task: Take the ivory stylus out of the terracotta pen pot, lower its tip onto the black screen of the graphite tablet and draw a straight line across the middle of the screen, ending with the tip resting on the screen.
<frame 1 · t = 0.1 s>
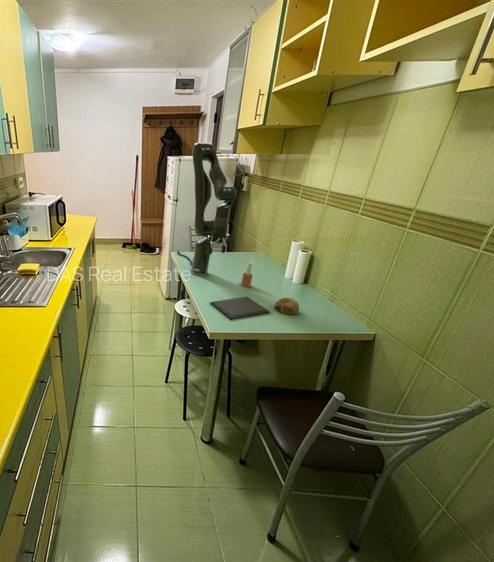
hand: (216, 253, 169), 17 cm above the table, tool pointing down, fingers open, 8 cm apart
bread roll: (285, 310, 146), on the table
stylus: (245, 285, 171), resting on pen pot
tablet: (238, 308, 147), on the table
pen pot: (245, 286, 171), on the table
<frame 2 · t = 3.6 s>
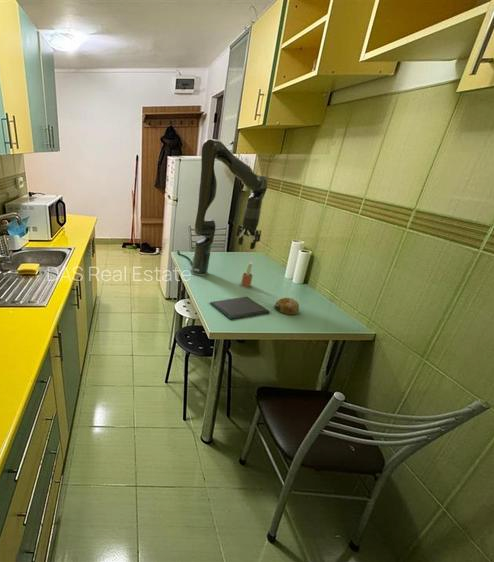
hand: (245, 246, 163), 23 cm above the table, tool pointing down, fingers open, 8 cm apart
nothing on the table moved.
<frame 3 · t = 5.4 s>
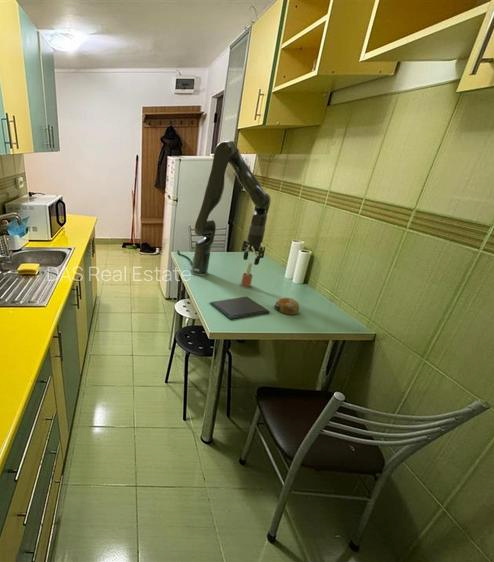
hand: (250, 262, 165), 15 cm above the table, tool pointing down, fingers open, 8 cm apart
nothing on the table moved.
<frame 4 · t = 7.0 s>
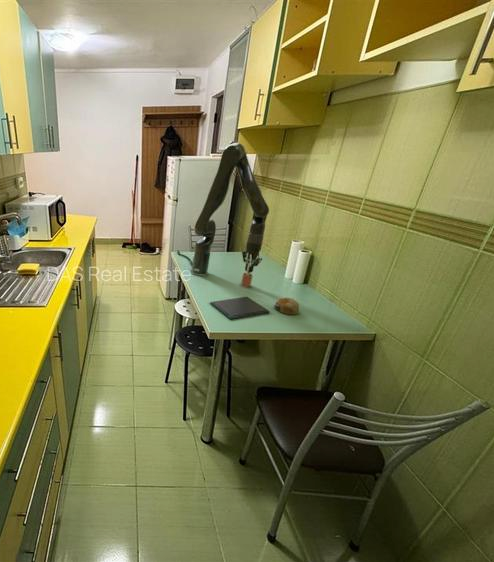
hand: (248, 271, 168), 9 cm above the table, tool pointing down, fingers closed on stylus, 2 cm apart
stylus: (245, 285, 171), resting on pen pot, touching gripper
everything else where it was.
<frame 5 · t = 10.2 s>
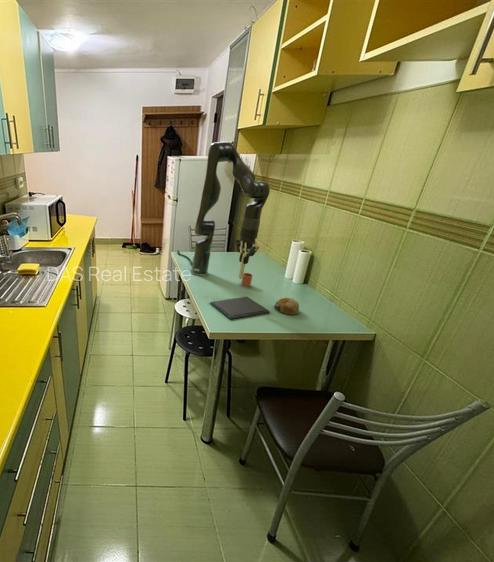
hand: (243, 262, 146), 21 cm above the table, tool pointing down, fingers closed on stylus
stylus: (240, 278, 149), point 12 cm above the table, touching gripper
everything else where it was.
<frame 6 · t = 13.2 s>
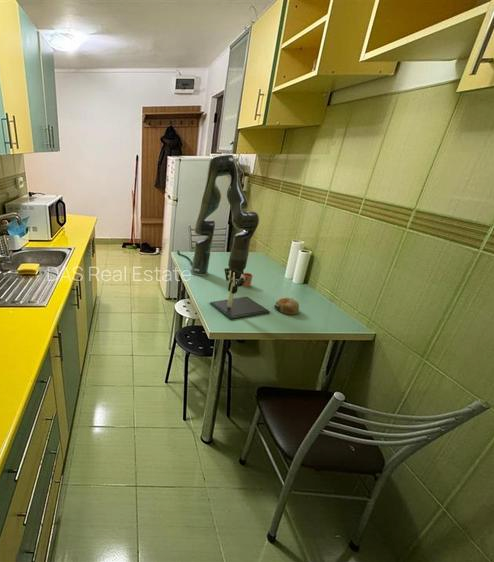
hand: (231, 291, 141), 10 cm above the table, tool pointing down, fingers closed on stylus, 2 cm apart
stylus: (229, 307, 145), point 1 cm above the table, touching gripper, tablet
everything else where it was.
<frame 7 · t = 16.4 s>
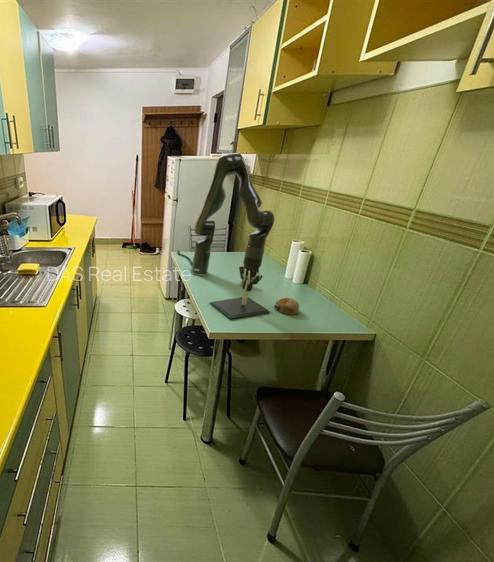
hand: (246, 289, 144), 10 cm above the table, tool pointing down, fingers closed on stylus, 2 cm apart
stylus: (243, 305, 147), point 1 cm above the table, touching gripper, tablet
everything else where it was.
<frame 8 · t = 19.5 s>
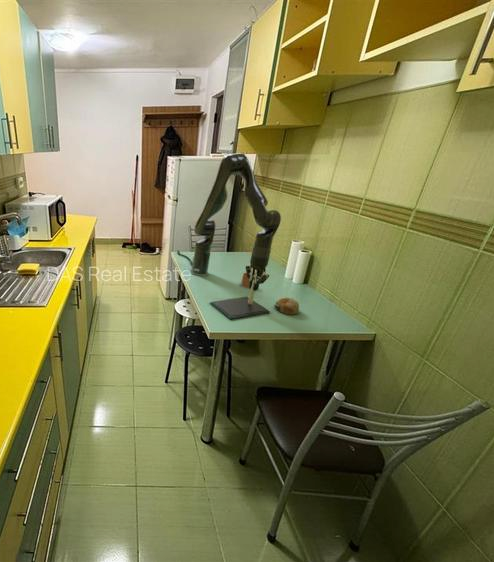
hand: (253, 289, 145), 10 cm above the table, tool pointing down, fingers closed on stylus, 2 cm apart
stylus: (249, 304, 148), point 1 cm above the table, touching gripper, tablet
everything else where it was.
at the end: stylus 0.5 cm from the target spot on the tablet, point 1.2 cm above the tablet's base; stylus touching gripper, tablet; stylus tilted 0° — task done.
